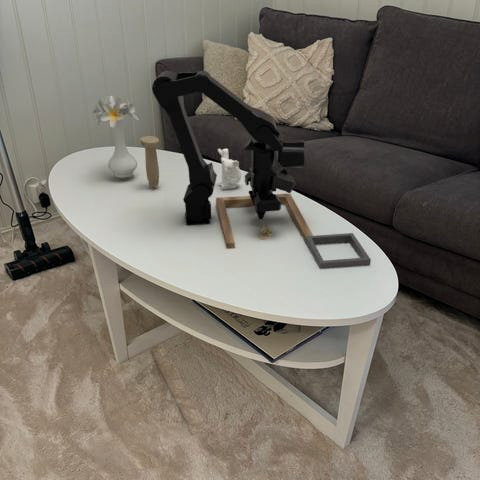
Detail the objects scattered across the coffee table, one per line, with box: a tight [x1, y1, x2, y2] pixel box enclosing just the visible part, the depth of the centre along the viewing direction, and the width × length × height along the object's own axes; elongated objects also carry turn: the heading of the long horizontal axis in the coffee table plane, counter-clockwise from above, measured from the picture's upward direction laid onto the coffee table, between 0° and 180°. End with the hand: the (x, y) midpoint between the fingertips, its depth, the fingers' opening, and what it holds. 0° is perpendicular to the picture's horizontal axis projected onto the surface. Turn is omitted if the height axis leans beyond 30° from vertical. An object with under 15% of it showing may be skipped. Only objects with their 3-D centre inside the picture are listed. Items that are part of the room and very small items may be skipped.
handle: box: [140, 135, 160, 188], centre depth 144 cm, size 5×6×15 cm
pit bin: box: [305, 232, 372, 269], centre depth 113 cm, size 12×12×3 cm
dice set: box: [259, 225, 274, 240], centre depth 122 cm, size 5×5×2 cm
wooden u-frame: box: [215, 193, 314, 249], centre depth 127 cm, size 22×25×2 cm
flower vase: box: [92, 95, 140, 179], centre depth 149 cm, size 13×18×25 cm
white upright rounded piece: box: [217, 148, 242, 190], centre depth 144 cm, size 8×7×12 cm
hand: (260, 218), depth 128 cm, fingers closed
